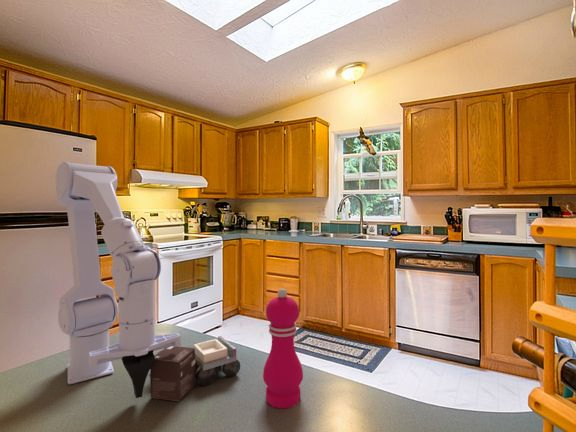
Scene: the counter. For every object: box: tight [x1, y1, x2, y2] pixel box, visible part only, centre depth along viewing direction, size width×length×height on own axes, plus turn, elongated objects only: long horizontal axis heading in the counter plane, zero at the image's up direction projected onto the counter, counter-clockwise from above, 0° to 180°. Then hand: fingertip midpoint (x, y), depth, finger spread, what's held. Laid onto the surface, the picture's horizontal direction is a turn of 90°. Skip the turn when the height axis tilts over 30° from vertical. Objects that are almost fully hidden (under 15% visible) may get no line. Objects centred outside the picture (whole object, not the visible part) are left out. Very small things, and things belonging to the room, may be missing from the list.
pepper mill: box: [262, 287, 304, 409], centre depth 58 cm, size 7×7×20 cm
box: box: [149, 346, 197, 402], centre depth 60 cm, size 6×6×7 cm
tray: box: [193, 338, 227, 363], centre depth 66 cm, size 6×5×2 cm
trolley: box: [195, 335, 241, 387], centre depth 67 cm, size 8×9×6 cm
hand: (138, 394), depth 57 cm, fingers closed
